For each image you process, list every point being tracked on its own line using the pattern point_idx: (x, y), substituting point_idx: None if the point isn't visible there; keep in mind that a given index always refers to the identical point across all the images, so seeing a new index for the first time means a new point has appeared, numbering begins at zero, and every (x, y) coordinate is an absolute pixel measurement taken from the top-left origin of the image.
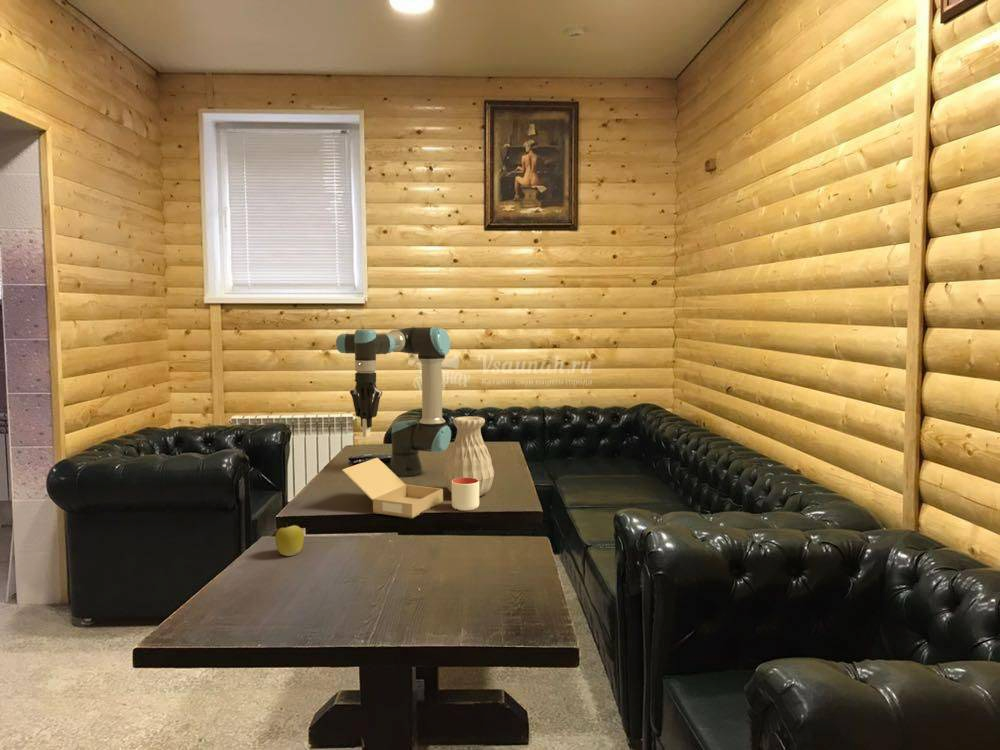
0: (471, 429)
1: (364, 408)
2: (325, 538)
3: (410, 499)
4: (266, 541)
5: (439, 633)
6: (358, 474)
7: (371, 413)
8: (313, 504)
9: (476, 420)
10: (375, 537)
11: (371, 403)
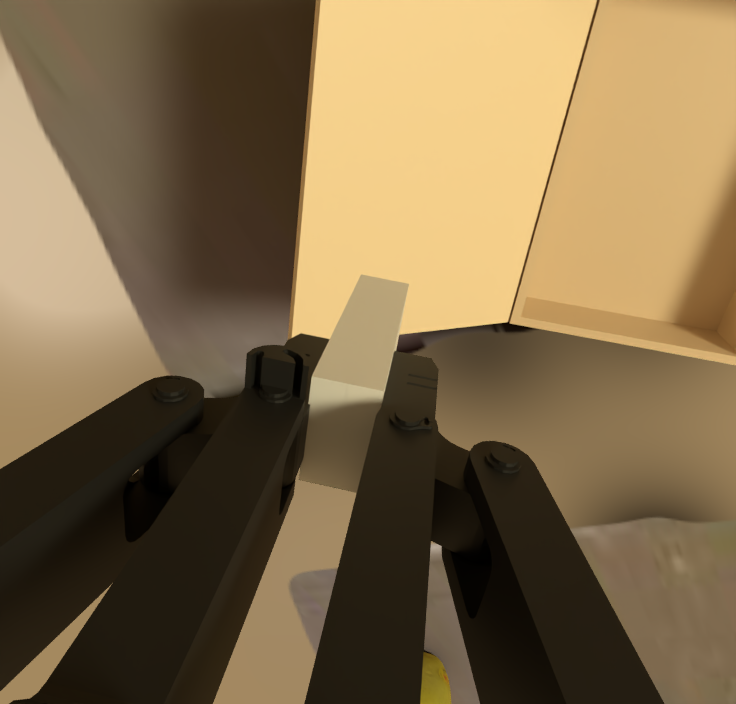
0: None
1: (252, 569)
2: None
3: (649, 34)
4: (300, 602)
5: None
6: (370, 261)
7: (475, 593)
8: (176, 239)
9: None
10: (616, 545)
11: (414, 695)
